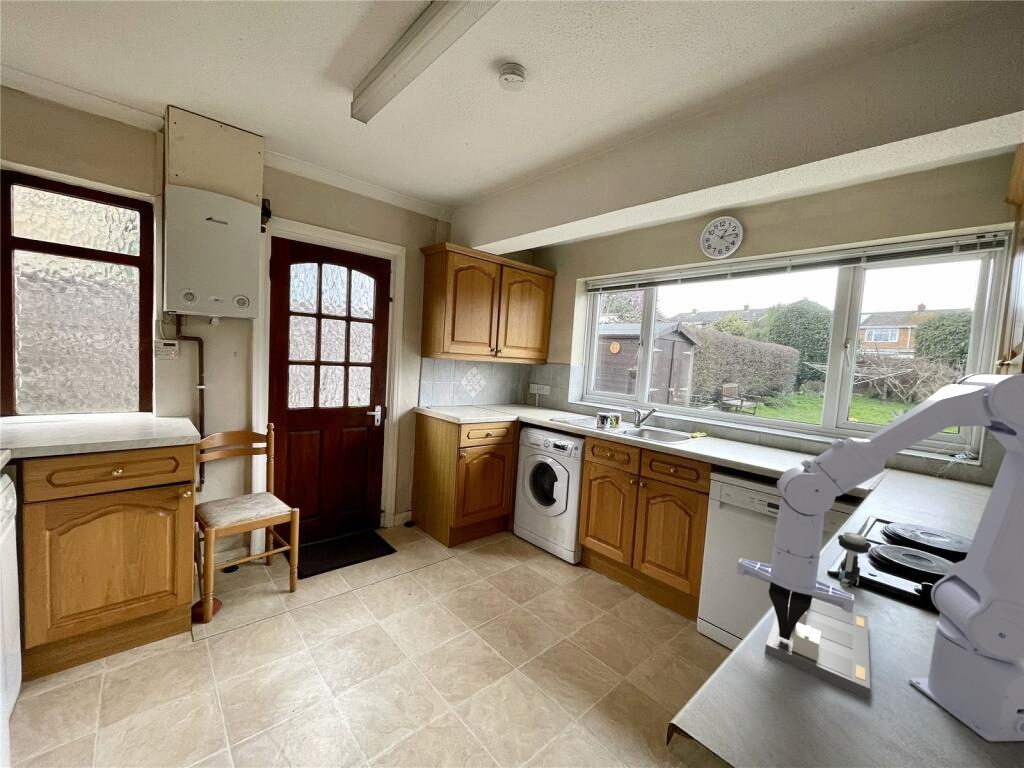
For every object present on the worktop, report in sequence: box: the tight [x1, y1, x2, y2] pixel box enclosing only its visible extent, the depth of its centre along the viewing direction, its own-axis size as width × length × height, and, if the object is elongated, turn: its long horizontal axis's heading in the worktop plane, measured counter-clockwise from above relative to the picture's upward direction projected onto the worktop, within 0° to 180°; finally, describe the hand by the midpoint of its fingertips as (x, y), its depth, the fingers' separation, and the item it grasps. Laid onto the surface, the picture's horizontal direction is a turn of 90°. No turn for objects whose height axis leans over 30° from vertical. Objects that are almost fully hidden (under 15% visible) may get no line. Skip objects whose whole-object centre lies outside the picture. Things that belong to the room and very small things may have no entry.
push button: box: [837, 531, 872, 588], centre depth 87 cm, size 7×5×10 cm
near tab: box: [792, 622, 821, 661], centre depth 63 cm, size 4×3×3 cm
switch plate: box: [764, 598, 871, 700], centre depth 68 cm, size 22×12×2 cm, turn 141°
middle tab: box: [788, 599, 807, 625], centre depth 70 cm, size 4×3×3 cm
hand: (785, 635), depth 65 cm, fingers closed
